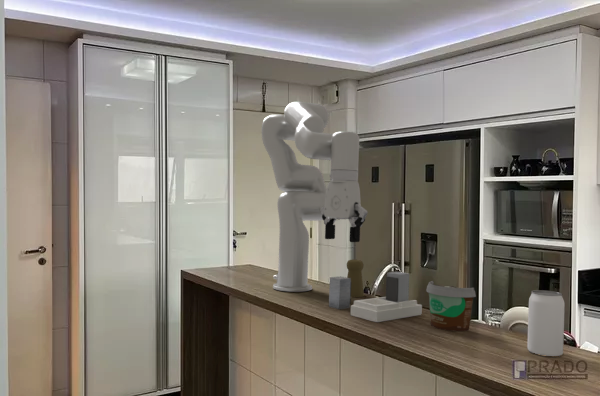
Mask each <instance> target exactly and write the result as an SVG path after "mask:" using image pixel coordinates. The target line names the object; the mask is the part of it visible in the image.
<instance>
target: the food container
mask: <svg viewBox="0 0 600 396" xmlns="http://www.w3.org/2000/svg"><path fill="white" fill-rule="evenodd" d="M425 291H426V292H427V293H428V296H429V298H428V299H429V301H428V302H429V312H430V326H431V327H433V328H435V329H438V330H442V331H451V332H466V331H467V332H468V331H470V325H471V324H470V323H471V318H472V317H471V315H472V309H473V308H472V307H473V301H474V298H476V297H477V295H476V290H475V287H456V286H453V285H437V284H434V280H431V281H429V282H428V284H427V285H426V290H425Z"/></svg>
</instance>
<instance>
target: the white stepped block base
mask: <svg viewBox="0 0 600 396" xmlns="http://www.w3.org/2000/svg"><path fill="white" fill-rule="evenodd" d="M386 274H387V275H386V277H385V280H386V282H385V296H381V297H380V296H379V297H373V298H372V297H371V298H365V299H357V300H353V304H352V305H351V304H350V316H353V317H356V318H359V319H363V320H367V321H371V322H374V323H380V322H386V321H393V320H398V319H404V318H409V317H415V316H422V315H421V314H423V313H422V312H423V305H422V304H421V303H419V304H418V300H416V299H412V300H411V299H410V300H409V291H410V273H409V272H408V273H407V272H401V271H391V272H387V273H386Z"/></svg>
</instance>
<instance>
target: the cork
mask: <svg viewBox="0 0 600 396" xmlns="http://www.w3.org/2000/svg"><path fill="white" fill-rule="evenodd" d="M346 269H347V277H346V278H351V298H363V297H364V296H365V292H364V284H363V283H364V282H363V275H362V274H363V273H362V271H363V269H364V262H363V260H360V259H355V258H352V259H349V260H347V263H346Z"/></svg>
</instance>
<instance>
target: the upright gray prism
mask: <svg viewBox="0 0 600 396" xmlns="http://www.w3.org/2000/svg"><path fill="white" fill-rule="evenodd" d="M328 289H329V292H328V293H329V294H328V307H329V308H332V309H336V310H344V309H351V303H352V297H351V278H347V277H346V276H331V277H329V288H328Z"/></svg>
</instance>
